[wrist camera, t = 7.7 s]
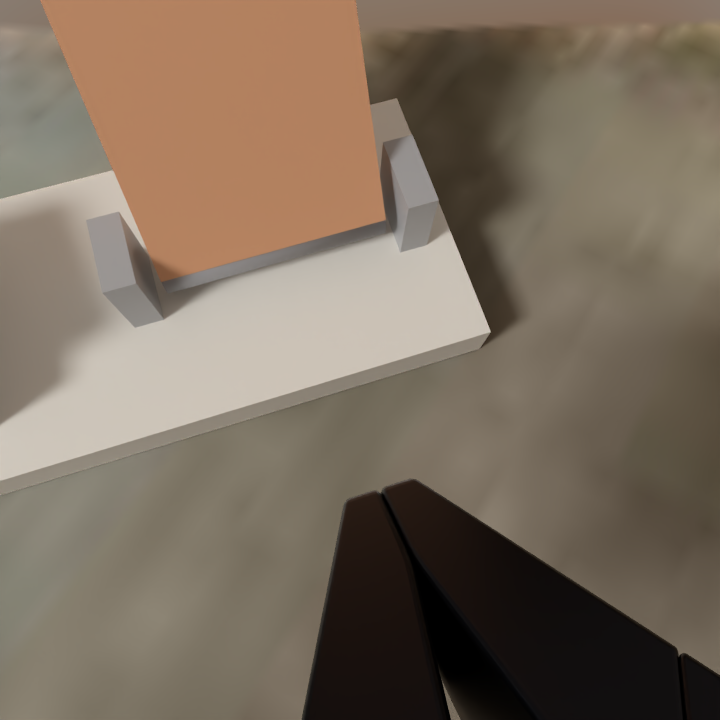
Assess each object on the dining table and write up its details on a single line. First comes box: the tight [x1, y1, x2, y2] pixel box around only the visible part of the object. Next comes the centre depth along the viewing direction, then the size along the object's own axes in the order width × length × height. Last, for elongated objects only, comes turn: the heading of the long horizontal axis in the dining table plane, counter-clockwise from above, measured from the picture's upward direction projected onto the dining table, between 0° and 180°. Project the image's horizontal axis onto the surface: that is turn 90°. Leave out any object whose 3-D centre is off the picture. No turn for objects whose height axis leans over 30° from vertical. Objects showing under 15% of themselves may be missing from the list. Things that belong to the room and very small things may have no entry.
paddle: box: [40, 0, 386, 293], centre depth 14 cm, size 2×6×11 cm
